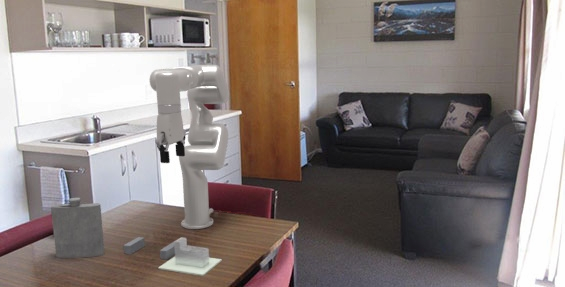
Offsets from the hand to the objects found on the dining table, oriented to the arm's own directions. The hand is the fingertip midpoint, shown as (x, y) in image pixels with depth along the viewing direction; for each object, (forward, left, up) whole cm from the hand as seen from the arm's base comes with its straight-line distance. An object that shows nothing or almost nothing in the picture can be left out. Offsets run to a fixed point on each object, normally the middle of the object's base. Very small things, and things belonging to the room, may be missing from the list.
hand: (173, 159), depth 170 cm
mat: (+12, +12, -31) cm, 36 cm away
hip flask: (+17, -28, -32) cm, 45 cm away
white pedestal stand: (+12, +13, -31) cm, 35 cm away
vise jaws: (+7, -6, -31) cm, 33 cm away
